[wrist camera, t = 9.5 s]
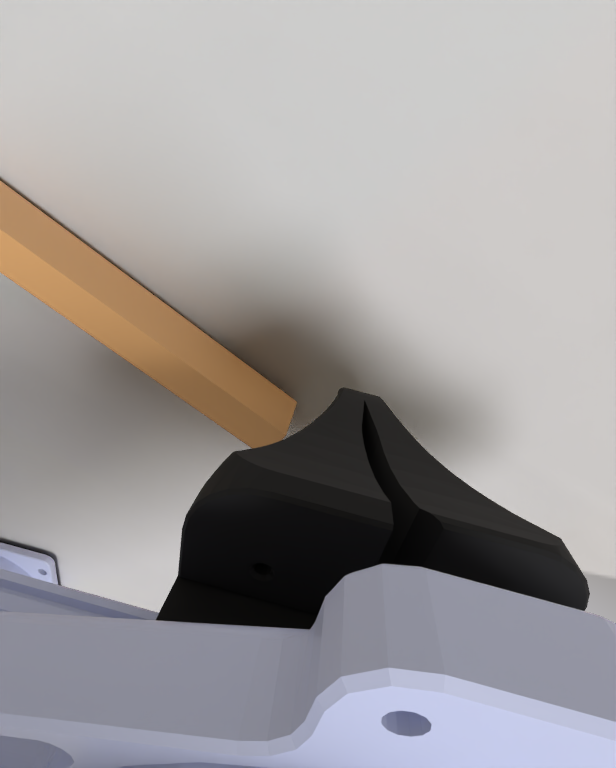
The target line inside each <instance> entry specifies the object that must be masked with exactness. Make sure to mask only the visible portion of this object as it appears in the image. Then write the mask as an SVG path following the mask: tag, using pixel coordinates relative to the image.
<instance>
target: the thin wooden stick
mask: <svg viewBox="0 0 616 768" xmlns="http://www.w3.org/2000/svg"><path fill="white" fill-rule="evenodd" d="M0 272H1V273H2V274H4V275H5V276H6V277H8V278H9V279H11V280H12V281H14V282H15V283H16V284H18V285H19V286H21V287H22V288H24V289H25V290H26V291H28V292H29V293H31V294H32V295H34V296H35V297H36V298H38V299H39V300H41V301H42V302H44V303H45V304H46V305H48V306H49V307H51V308H52V309H54V310H55V311H56V312H58V313H59V314H61V315H62V316H64V317H65V318H66V319H68V320H69V321H71V322H72V323H74V324H75V325H76V326H78V327H79V328H81V329H82V330H84V331H85V332H86V333H88V334H89V335H91V336H92V337H94V338H95V339H97V340H98V341H99V342H101V343H102V344H104V345H105V346H107V347H108V348H109V349H111V350H112V351H114V352H115V353H117V354H118V355H119V356H121V357H122V358H124V359H125V360H127V361H128V362H129V363H131V364H132V365H134V366H135V367H137V368H138V369H139V370H141V371H142V372H144V373H145V374H147V375H148V376H149V377H151V378H152V379H154V380H155V381H157V382H158V383H159V384H161V385H162V386H164V387H165V388H167V389H168V390H169V391H171V392H172V393H174V394H175V395H177V396H178V397H179V398H181V399H182V400H184V401H185V402H187V403H188V404H189V405H191V406H192V407H194V408H195V409H197V410H198V411H200V412H201V413H202V414H204V415H205V416H207V417H208V418H210V419H211V420H212V421H214V422H215V423H217V424H218V425H220V426H221V427H222V428H224V429H225V430H227V431H228V432H230V433H231V434H232V435H234V436H235V437H237V438H238V439H240V440H241V441H242V442H244V443H245V444H247V445H248V446H250V447H251V448H257V447H262V446H266V445H269V444H273V443H276V442H279V441H281V440H282V439H283V438H284V437H285V436H286V434H287V431H288V428H289V425H290V422H291V419H292V416H293V413H294V410H295V407H296V404H297V402H296V401H295V400H294V399H292V398H291V397H290V396H288V395H287V394H286V393H284V392H283V391H282V390H280V389H279V388H278V387H276V386H275V385H274V384H272V383H271V382H270V381H268V380H267V379H266V378H264V377H263V376H262V375H260V374H259V373H258V372H256V371H255V370H254V369H252V368H251V367H250V366H248V365H247V364H246V363H244V362H243V361H241V360H240V359H239V358H237V357H236V356H235V355H233V354H232V353H231V352H229V351H228V350H227V349H225V348H224V347H223V346H221V345H220V344H219V343H217V342H216V341H215V340H213V339H212V338H211V337H209V336H208V335H207V334H205V333H204V332H203V331H201V330H200V329H199V328H197V327H196V326H195V325H193V324H192V323H191V322H189V321H188V320H186V319H185V318H184V317H182V316H181V315H180V314H178V313H177V312H176V311H174V310H173V309H172V308H170V307H169V306H168V305H166V304H165V303H164V302H162V301H161V300H160V299H158V298H157V297H156V296H154V295H153V294H152V293H150V292H149V291H148V290H146V289H145V288H144V287H142V286H141V285H140V284H138V283H137V282H136V281H134V280H133V279H132V278H130V277H129V276H127V275H126V274H125V273H123V272H122V271H121V270H119V269H118V268H117V267H115V266H114V265H113V264H111V263H110V262H109V261H107V260H106V259H105V258H103V257H102V256H101V255H99V254H98V253H97V252H95V251H94V250H93V249H91V248H90V247H89V246H87V245H86V244H85V243H83V242H82V241H81V240H79V239H78V238H77V237H75V236H74V235H72V234H71V233H70V232H68V231H67V230H66V229H64V228H63V227H62V226H60V225H59V224H58V223H56V222H55V221H54V220H52V219H51V218H50V217H48V216H47V215H46V214H44V213H43V212H42V211H40V210H39V209H38V208H36V207H35V206H34V205H32V204H31V203H30V202H28V201H27V200H26V199H24V198H23V197H22V196H20V195H19V194H18V193H16V192H15V191H13V190H12V189H11V188H9V187H8V186H7V185H5V184H4V183H3V182H1V181H0Z"/></svg>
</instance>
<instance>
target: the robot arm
mask: <svg viewBox="0 0 616 768" xmlns="http://www.w3.org/2000/svg"><path fill="white" fill-rule="evenodd" d="M589 595H590V593H589V588H588V584H587V580H586V578H585V577H584V575H583V573H582V572H581V570H580V568H579V567H578V565H577V564H576V562H575V560H574V559H573V557H572V556H571V554H570V552H569V551H568V549H567V548H566V546H565V544H564V543H563V541H562V540H561V538H559V537H557V536H555V535H553V534H551V533H549V532H547V531H546V530H544V529H542V528H540V527H538V526H536V525H534V524H532V523H530V522H528V521H526V520H524V519H523V518H521V517H519V516H517V515H515V514H513V513H511V512H510V511H508V510H506V509H505V508H503V507H501V506H500V505H498V504H497V503H495V502H493V501H492V500H490V499H488V498H487V497H485V496H484V495H482V494H481V493H479V492H478V491H476V490H475V489H473V488H472V487H470V486H469V485H468V484H466V483H465V482H464V481H462V480H461V479H459V478H458V477H457V476H455V475H454V474H453V473H451V472H450V471H449V470H448V469H446V468H445V467H444V466H443V465H442V464H441V463H439V462H438V461H437V460H436V459H435V458H434V457H433V456H431V455H430V454H429V453H428V452H427V451H426V450H425V449H424V448H423V447H422V446H421V445H420V444H419V443H418V442H417V441H416V440H415V438H414V437H413V436H412V435H411V434H410V433H409V432H408V431H407V430H406V428H405V427H404V426H403V425H402V424H401V422H400V421H399V420H398V419H397V418H396V416H395V415H394V414H393V412H392V411H391V410H390V409H389V407H388V406H387V405H386V404H385V402H384V401H383V400H382V399H381V398H380V397H378V396H374V395H370V394H366V393H363V392H359V391H355V390H351V389H347V388H341V389H339V391H338V395H337V397H336V399H335V400H334V401H333V403H332V404H331V405H330V406H329V407H328V409H327V410H326V411H325V412H324V413H323V414H321V415H320V416H319V417H318V418H317V419H316V420H315V421H314V422H312V423H311V424H310V425H308V426H307V427H305V428H304V429H302V430H301V431H299V432H297V433H296V434H294V435H292V436H290V437H288V438H286V439H284V440H281V441H279V442H276V443H273V444H269V445H266V446H262V447H257V448H252V449H247V450H242V451H235V452H233V453H232V454H231V455H230V456H229V457H228V458H227V459H226V460H225V461H224V462H223V463H222V464H221V465H220V466H219V468H218V469H217V470H216V471H215V472H214V474H213V475H212V476H211V477H210V478H209V480H208V481H207V482H206V484H205V485H204V486H203V488H202V489H201V491H200V492H199V494H198V496H197V497H196V499H195V501H194V503H193V504H192V506H191V508H190V510H189V511H188V513H187V515H186V518H185V521H184V525H183V528H182V538H181V549H180V560H179V571H178V577H177V579H176V581H175V583H174V585H173V587H172V589H171V591H170V593H169V595H168V597H167V599H166V601H165V602H164V604H163V606H162V608H161V610H160V612H159V613H158V612H154V611H150V610H147V609H143V608H140V607H136V606H132V605H129V604H125V603H122V602H118V601H114V600H111V599H107V598H104V597H100V596H97V595H93V594H89V593H86V592H82V591H79V590H75V589H71V588H68V587H64V586H61V585H58V581H57V574H56V568H55V562H54V560H53V559H52V558H51V557H50V556H48V555H45V554H41V553H37V552H34V551H30V550H27V549H23V548H19V547H16V546H12V545H9V544H5V543H1V542H0V768H616V623H614V622H612V621H610V620H608V619H606V618H604V617H602V616H599V615H596V614H593V613H589V612H586V611H585V609H586V607H587V603H588V599H589Z"/></svg>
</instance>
